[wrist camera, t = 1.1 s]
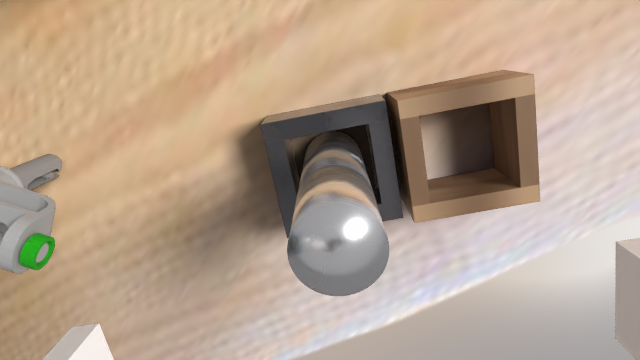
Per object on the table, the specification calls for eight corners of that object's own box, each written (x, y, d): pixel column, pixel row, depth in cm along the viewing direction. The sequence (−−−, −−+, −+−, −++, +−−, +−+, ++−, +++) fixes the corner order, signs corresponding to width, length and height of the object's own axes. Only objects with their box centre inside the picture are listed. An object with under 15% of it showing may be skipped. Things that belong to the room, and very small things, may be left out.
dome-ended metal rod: (311, 190, 28) (299, 303, 16) (299, 137, 27) (277, 213, 15) (365, 180, 28) (395, 287, 16) (356, 126, 27) (381, 195, 15)
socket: (291, 218, 29) (287, 237, 26) (267, 115, 27) (260, 124, 24) (395, 200, 29) (403, 217, 26) (379, 94, 27) (385, 100, 24)
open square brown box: (403, 198, 29) (414, 222, 25) (387, 92, 26) (397, 100, 23) (511, 180, 28) (540, 201, 24) (503, 70, 26) (533, 74, 22)
